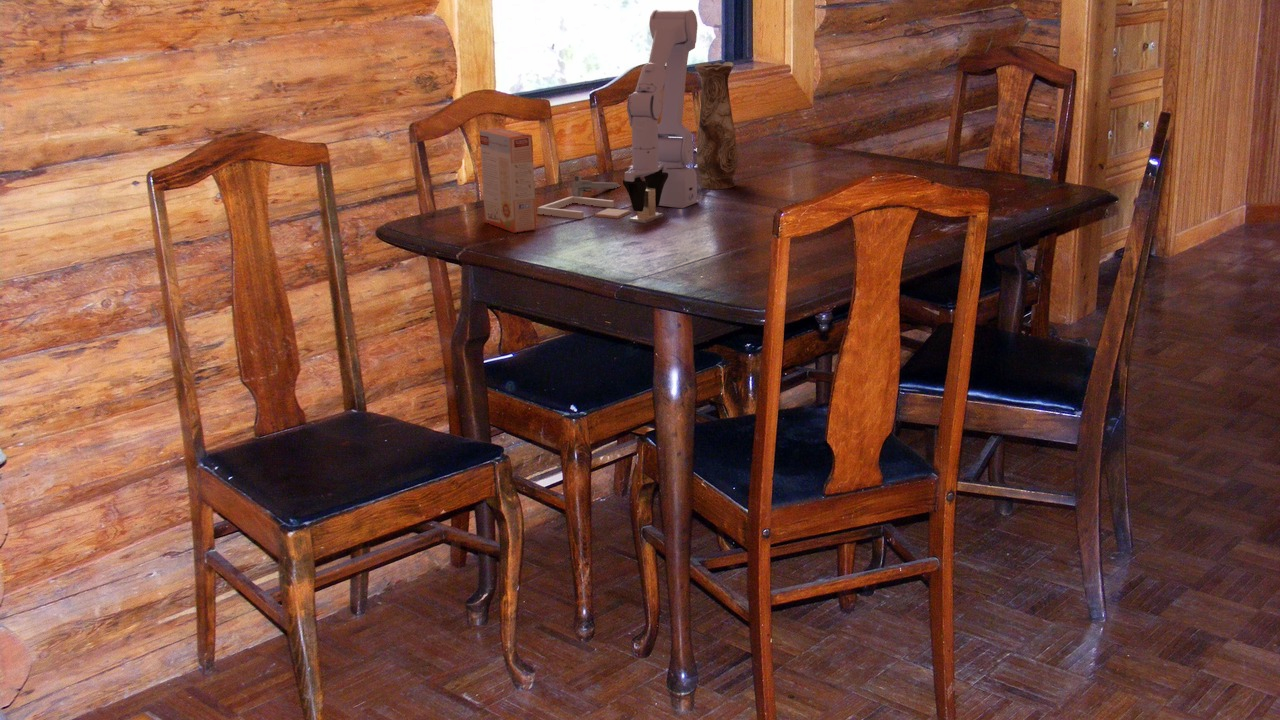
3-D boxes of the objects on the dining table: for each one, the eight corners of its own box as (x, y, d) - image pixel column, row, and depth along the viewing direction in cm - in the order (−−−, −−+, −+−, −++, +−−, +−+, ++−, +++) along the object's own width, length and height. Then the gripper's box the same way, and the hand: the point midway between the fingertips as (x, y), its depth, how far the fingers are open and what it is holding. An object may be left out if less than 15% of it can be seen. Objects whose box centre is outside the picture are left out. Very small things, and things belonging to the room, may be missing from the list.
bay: (614, 207, 297) (614, 200, 296) (581, 219, 285) (580, 212, 285) (572, 202, 303) (571, 196, 302) (537, 213, 291) (537, 207, 291)
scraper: (663, 216, 287) (662, 186, 285) (645, 223, 280) (644, 193, 278) (648, 214, 289) (647, 185, 287) (629, 221, 282) (628, 191, 280)
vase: (739, 189, 312) (739, 65, 303) (695, 190, 313) (694, 66, 303) (736, 181, 322) (737, 61, 312) (694, 182, 323) (694, 61, 313)
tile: (630, 215, 290) (630, 210, 290) (618, 221, 285) (617, 215, 285) (607, 213, 293) (607, 208, 293) (594, 218, 288) (594, 213, 288)
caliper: (576, 203, 303) (575, 177, 301) (572, 202, 304) (571, 176, 302) (621, 187, 320) (620, 162, 318) (617, 187, 320) (616, 162, 318)
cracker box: (538, 230, 276) (533, 134, 269) (513, 234, 273) (508, 137, 266) (507, 219, 287) (502, 126, 280) (483, 222, 284) (478, 129, 277)
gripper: (646, 140, 287) (647, 200, 292) (612, 151, 276) (613, 212, 280) (673, 143, 284) (674, 202, 288) (639, 153, 272) (641, 215, 277)
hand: (646, 207), depth 284 cm, fingers open, 6 cm apart
